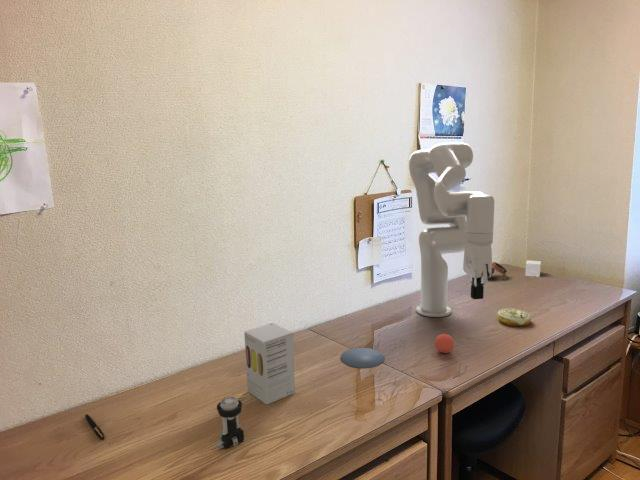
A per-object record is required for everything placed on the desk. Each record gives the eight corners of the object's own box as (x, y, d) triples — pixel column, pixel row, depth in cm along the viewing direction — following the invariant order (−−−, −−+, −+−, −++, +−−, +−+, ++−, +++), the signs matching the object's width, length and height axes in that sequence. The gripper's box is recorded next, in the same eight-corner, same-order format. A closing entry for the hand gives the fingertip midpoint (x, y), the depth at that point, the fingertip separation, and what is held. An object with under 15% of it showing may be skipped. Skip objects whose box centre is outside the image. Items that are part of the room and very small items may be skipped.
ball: (432, 348, 149) (432, 331, 148) (449, 347, 149) (450, 330, 148) (438, 356, 144) (438, 339, 142) (456, 355, 144) (457, 337, 143)
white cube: (540, 273, 225) (541, 261, 224) (539, 277, 220) (540, 264, 218) (526, 272, 228) (526, 260, 226) (525, 275, 222) (526, 263, 221)
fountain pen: (82, 416, 118) (81, 410, 118) (87, 414, 119) (86, 409, 118) (101, 442, 107) (100, 436, 107) (106, 440, 108) (106, 434, 108)
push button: (223, 456, 101) (219, 413, 99) (209, 445, 105) (206, 403, 103) (249, 442, 105) (246, 400, 103) (235, 432, 109) (232, 392, 107)
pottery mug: (485, 274, 227) (495, 260, 225) (501, 287, 222) (512, 272, 219) (474, 274, 218) (485, 259, 216) (491, 286, 213) (502, 271, 210)
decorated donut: (526, 330, 162) (527, 319, 161) (493, 324, 168) (494, 313, 167) (533, 320, 170) (533, 310, 169) (501, 314, 176) (502, 304, 175)
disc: (338, 349, 150) (337, 349, 150) (379, 347, 151) (379, 346, 151) (344, 369, 137) (344, 368, 137) (389, 366, 139) (389, 365, 138)
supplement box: (246, 391, 127) (242, 330, 124) (275, 379, 133) (272, 321, 129) (266, 405, 120) (263, 342, 116) (296, 392, 126) (294, 331, 122)
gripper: (457, 233, 147) (455, 291, 151) (477, 243, 132) (474, 307, 136) (480, 232, 148) (478, 290, 151) (503, 242, 133) (500, 305, 137)
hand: (476, 298), depth 144 cm, fingers closed
